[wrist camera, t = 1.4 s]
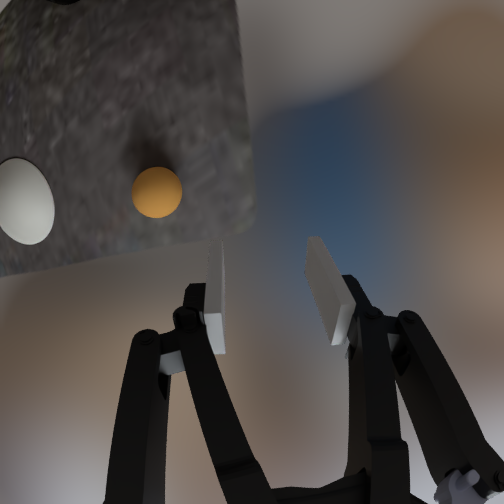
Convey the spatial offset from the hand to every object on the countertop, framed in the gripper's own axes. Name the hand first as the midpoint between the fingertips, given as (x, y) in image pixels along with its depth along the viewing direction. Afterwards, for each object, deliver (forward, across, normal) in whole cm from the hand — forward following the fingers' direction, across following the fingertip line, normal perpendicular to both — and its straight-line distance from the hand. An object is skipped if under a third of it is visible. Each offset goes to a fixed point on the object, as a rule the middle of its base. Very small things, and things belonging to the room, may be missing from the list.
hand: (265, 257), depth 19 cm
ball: (+14, -10, 0) cm, 17 cm away
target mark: (+17, -32, 0) cm, 36 cm away
